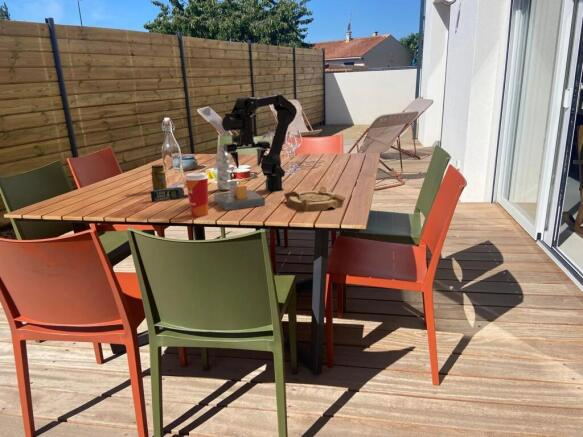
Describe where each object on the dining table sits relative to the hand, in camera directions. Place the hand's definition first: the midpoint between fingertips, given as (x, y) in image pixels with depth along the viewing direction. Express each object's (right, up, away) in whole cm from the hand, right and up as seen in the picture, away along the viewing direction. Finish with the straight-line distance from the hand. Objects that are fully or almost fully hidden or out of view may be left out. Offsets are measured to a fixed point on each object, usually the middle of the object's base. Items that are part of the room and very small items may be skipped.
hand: (248, 166), depth 183 cm
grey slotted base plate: (-3, -16, -8) cm, 18 cm away
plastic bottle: (-12, -9, +16) cm, 22 cm away
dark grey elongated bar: (-33, -14, +1) cm, 36 cm away
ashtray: (+27, -16, -11) cm, 33 cm away
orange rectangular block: (-1, -17, -12) cm, 20 cm away
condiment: (-42, -10, +16) cm, 46 cm away
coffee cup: (-15, -20, -23) cm, 35 cm away
